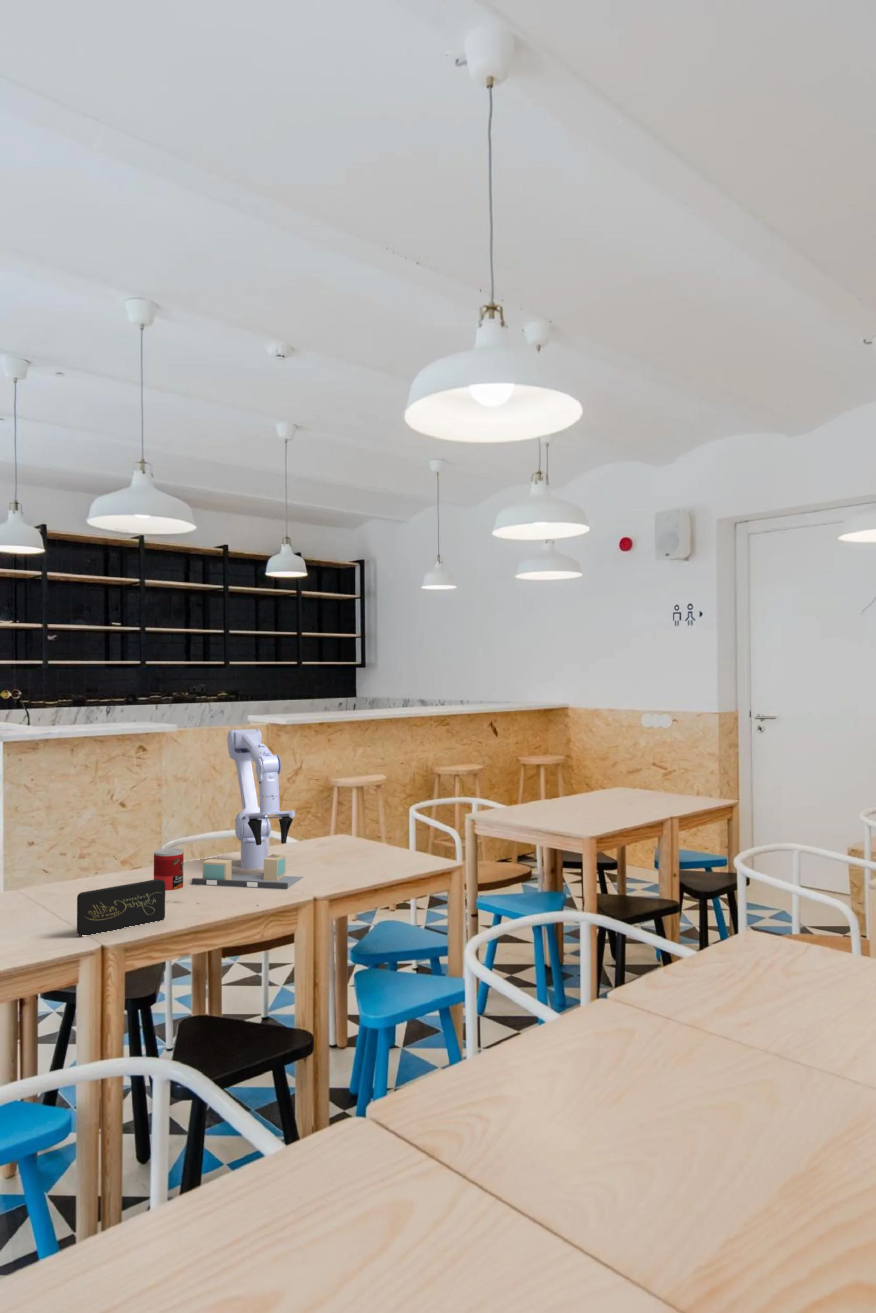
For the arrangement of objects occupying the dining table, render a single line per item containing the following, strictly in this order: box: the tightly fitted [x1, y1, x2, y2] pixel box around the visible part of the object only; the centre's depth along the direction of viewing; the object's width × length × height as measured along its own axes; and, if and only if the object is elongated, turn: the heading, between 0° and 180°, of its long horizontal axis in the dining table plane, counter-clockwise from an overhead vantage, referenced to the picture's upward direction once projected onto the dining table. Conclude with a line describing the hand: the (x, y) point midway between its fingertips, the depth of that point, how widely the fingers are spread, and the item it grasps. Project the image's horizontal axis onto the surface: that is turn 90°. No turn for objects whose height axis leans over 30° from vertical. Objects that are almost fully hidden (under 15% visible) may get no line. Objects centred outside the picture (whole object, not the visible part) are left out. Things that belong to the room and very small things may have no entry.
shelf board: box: [191, 872, 304, 891], centre depth 255 cm, size 15×28×2 cm, turn 80°
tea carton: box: [263, 853, 287, 881], centre depth 259 cm, size 7×4×6 cm, turn 170°
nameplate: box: [76, 879, 166, 937], centre depth 212 cm, size 21×2×10 cm, turn 134°
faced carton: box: [201, 858, 233, 880], centre depth 253 cm, size 7×4×6 cm, turn 80°
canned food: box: [153, 847, 185, 892], centre depth 247 cm, size 8×8×11 cm
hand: (271, 844), depth 258 cm, fingers open, 7 cm apart
